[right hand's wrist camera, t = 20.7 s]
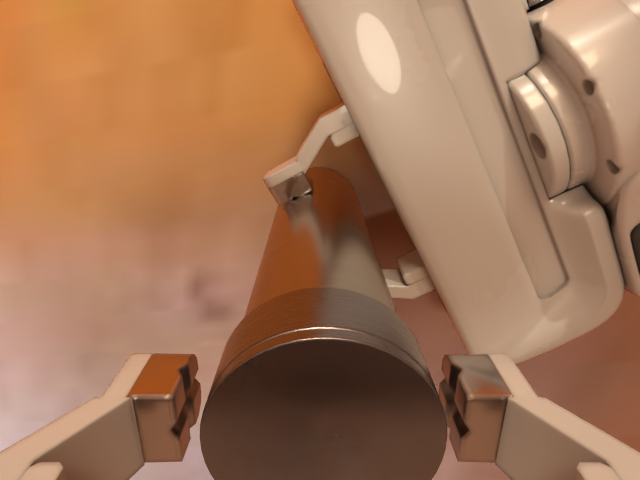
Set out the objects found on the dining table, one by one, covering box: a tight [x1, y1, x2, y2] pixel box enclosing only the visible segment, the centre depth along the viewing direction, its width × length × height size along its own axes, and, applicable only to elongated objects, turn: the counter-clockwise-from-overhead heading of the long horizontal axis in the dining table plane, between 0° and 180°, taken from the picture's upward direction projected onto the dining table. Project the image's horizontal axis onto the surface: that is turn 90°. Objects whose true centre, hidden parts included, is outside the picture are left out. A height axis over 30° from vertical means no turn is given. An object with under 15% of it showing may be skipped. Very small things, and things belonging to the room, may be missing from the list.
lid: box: [200, 287, 447, 480], centre depth 10 cm, size 5×5×2 cm
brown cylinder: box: [244, 167, 398, 318], centre depth 17 cm, size 4×4×17 cm
